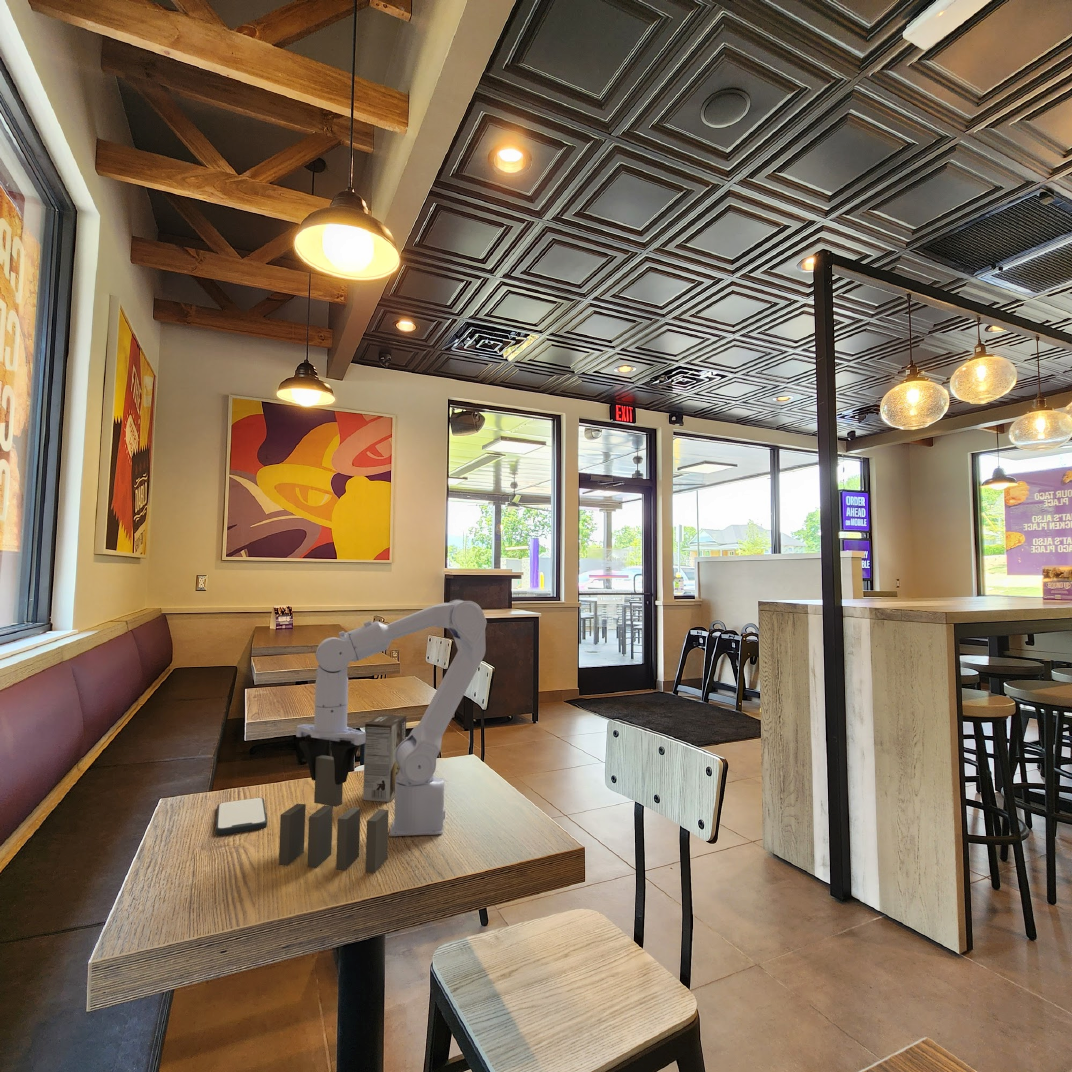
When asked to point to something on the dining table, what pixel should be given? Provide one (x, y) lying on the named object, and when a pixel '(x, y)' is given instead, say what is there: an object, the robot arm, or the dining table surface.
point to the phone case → (240, 816)
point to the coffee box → (382, 756)
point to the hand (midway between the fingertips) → (328, 780)
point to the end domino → (326, 782)
